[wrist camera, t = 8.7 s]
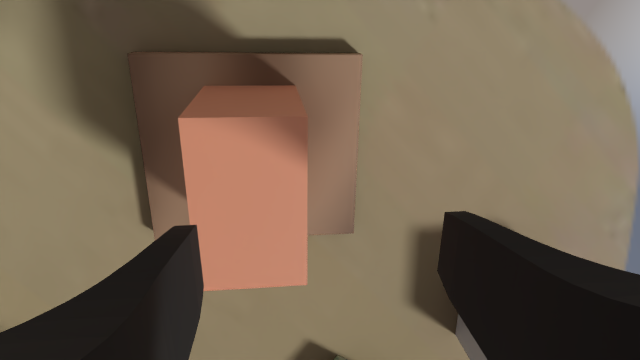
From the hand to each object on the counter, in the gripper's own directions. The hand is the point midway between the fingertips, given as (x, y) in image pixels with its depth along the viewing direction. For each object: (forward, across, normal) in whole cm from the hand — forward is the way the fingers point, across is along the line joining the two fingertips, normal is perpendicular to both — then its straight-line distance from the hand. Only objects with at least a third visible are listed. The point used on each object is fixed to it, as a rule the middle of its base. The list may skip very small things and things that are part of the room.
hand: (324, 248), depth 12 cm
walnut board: (+10, +2, 0) cm, 10 cm away
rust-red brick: (+9, +2, 0) cm, 9 cm away
